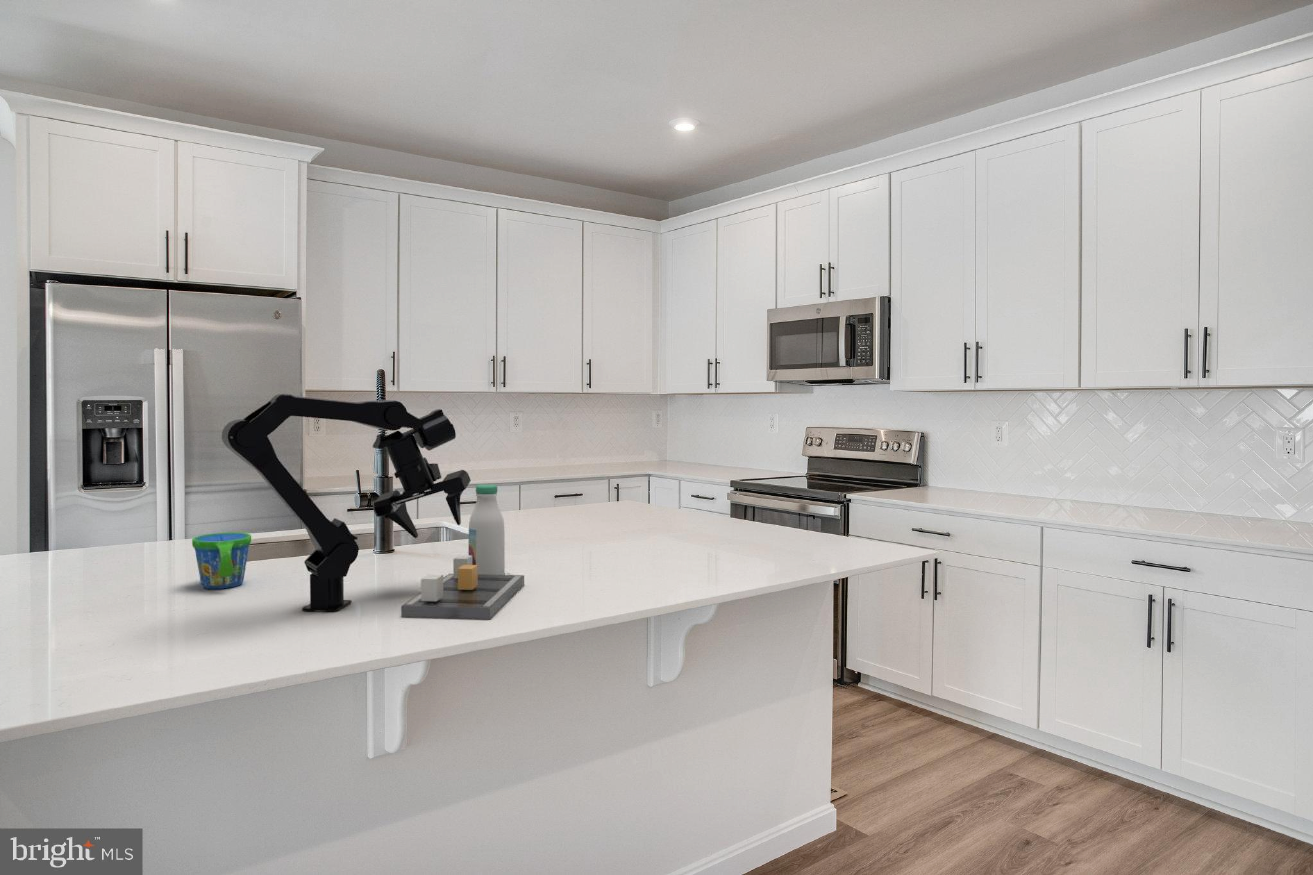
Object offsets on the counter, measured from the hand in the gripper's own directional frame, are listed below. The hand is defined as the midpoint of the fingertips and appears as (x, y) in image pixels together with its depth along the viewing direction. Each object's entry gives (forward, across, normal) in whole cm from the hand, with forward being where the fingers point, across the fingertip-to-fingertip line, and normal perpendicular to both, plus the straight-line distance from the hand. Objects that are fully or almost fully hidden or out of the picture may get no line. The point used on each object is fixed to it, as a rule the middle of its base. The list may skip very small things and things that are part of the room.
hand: (438, 530), depth 156 cm
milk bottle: (+17, -2, -10) cm, 20 cm away
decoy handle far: (+11, -1, 0) cm, 11 cm away
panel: (+12, -4, +10) cm, 16 cm away
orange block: (+10, -4, +9) cm, 14 cm away
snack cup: (-2, +47, 0) cm, 47 cm away
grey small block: (+7, -1, +17) cm, 19 cm away
